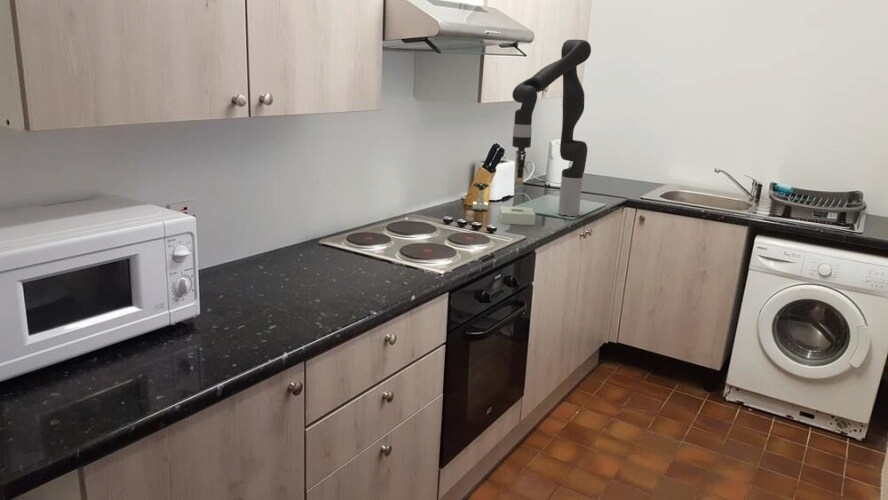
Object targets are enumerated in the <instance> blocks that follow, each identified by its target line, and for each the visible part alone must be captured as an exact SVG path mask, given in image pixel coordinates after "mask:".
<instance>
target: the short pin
mask: <svg viewBox="0 0 888 500" xmlns="http://www.w3.org/2000/svg"><path fill="white" fill-rule="evenodd" d="M474 221H475V210H469V209H468V210H465V222H470V223H471V222H472V223H473V222H474Z"/></svg>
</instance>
